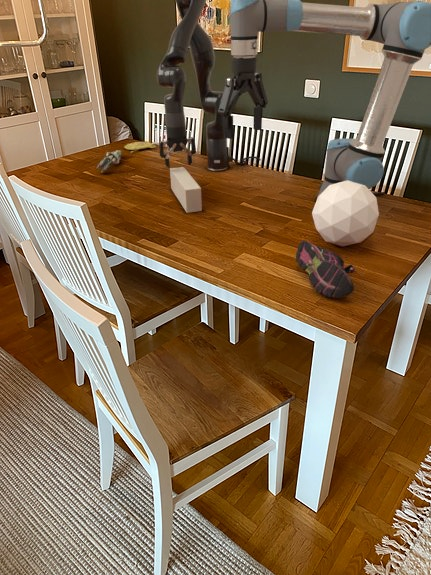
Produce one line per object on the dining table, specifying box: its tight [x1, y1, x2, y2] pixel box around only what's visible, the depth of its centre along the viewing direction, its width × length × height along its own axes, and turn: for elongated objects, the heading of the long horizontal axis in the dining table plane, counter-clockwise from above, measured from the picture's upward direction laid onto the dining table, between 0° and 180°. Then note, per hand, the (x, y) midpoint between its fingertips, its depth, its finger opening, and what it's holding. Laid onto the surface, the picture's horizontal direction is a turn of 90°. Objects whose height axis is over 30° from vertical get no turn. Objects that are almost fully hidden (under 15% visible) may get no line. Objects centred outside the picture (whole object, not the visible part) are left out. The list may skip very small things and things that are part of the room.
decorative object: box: [124, 141, 157, 154], centre depth 239 cm, size 21×2×20 cm
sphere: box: [311, 180, 380, 248], centre depth 135 cm, size 19×20×20 cm
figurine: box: [96, 150, 123, 174], centre depth 213 cm, size 7×8×30 cm
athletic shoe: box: [295, 240, 357, 299], centre depth 118 cm, size 11×22×12 cm
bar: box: [169, 166, 203, 214], centre depth 172 cm, size 27×6×9 cm, turn 17°
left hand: (179, 165), depth 177 cm, fingers open, 8 cm apart
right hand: (243, 133), depth 137 cm, fingers open, 13 cm apart
